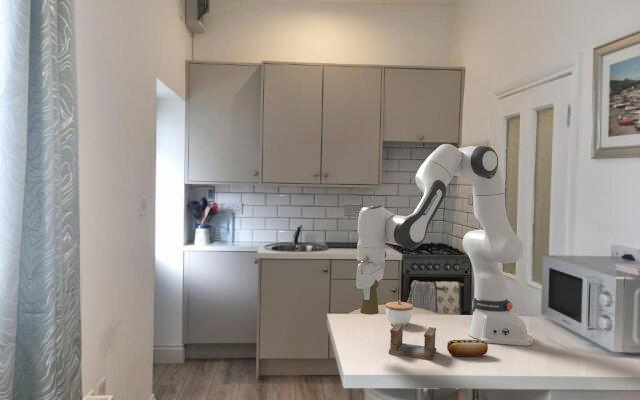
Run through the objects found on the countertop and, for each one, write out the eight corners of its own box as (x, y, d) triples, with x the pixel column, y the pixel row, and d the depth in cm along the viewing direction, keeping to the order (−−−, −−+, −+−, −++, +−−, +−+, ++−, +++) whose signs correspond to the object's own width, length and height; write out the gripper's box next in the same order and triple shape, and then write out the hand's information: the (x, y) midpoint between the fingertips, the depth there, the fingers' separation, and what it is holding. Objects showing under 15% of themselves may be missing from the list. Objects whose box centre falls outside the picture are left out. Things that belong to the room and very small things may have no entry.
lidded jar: (396, 319, 211) (397, 296, 210) (417, 324, 203) (418, 301, 202) (379, 323, 203) (380, 300, 203) (400, 329, 195) (401, 305, 195)
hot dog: (490, 358, 165) (490, 343, 165) (449, 358, 164) (450, 343, 164) (484, 353, 170) (485, 338, 170) (445, 353, 169) (445, 338, 169)
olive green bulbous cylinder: (366, 315, 162) (367, 280, 161) (356, 311, 167) (357, 277, 167) (382, 313, 164) (383, 279, 164) (372, 309, 170) (372, 276, 170)
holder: (436, 351, 171) (437, 328, 170) (431, 360, 162) (432, 335, 162) (395, 345, 176) (395, 323, 176) (388, 353, 167) (389, 330, 167)
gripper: (371, 260, 154) (370, 305, 155) (387, 251, 173) (387, 292, 174) (351, 258, 157) (350, 303, 157) (370, 250, 176) (369, 290, 176)
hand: (369, 297), depth 166 cm, fingers closed on olive green bulbous cylinder, 4 cm apart
